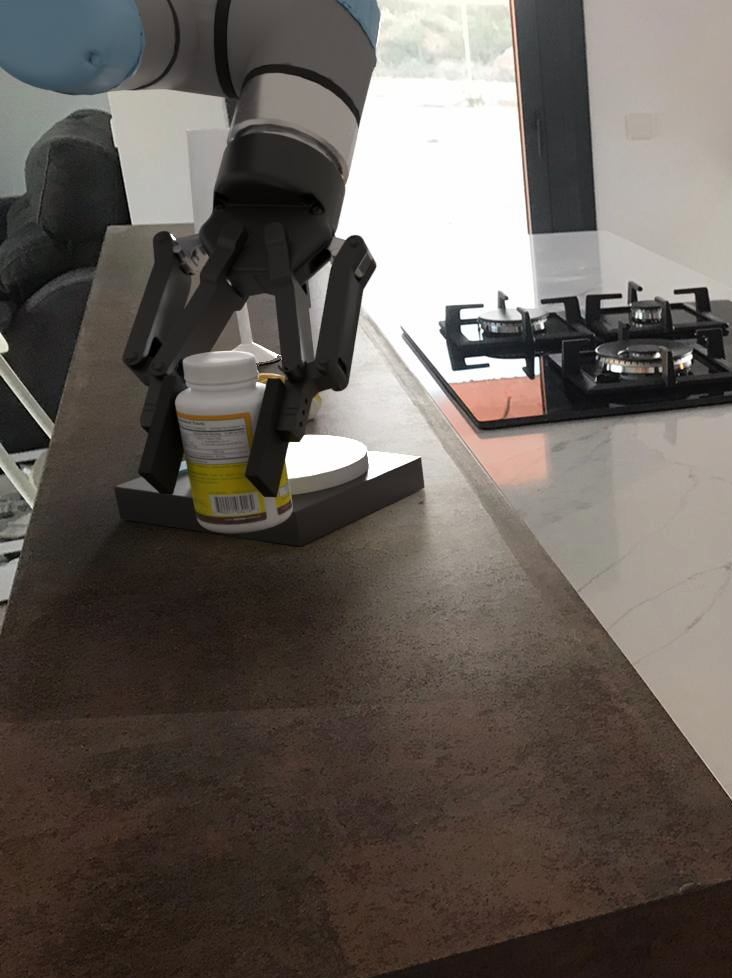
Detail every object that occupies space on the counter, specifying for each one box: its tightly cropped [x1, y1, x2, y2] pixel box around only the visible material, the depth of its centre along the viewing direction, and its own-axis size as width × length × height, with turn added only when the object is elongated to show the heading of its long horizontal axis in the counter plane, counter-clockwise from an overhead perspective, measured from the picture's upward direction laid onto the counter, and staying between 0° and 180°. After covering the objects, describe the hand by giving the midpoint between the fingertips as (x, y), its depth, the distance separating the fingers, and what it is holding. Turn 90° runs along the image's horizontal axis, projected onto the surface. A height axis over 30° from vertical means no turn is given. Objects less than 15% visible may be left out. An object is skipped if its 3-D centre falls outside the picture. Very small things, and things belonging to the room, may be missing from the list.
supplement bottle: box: [175, 350, 293, 533], centre depth 77 cm, size 6×6×10 cm
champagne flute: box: [186, 127, 279, 363], centre depth 137 cm, size 7×7×24 cm
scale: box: [113, 434, 426, 547], centre depth 95 cm, size 16×14×4 cm
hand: (208, 484), depth 75 cm, fingers closed on supplement bottle, 6 cm apart
